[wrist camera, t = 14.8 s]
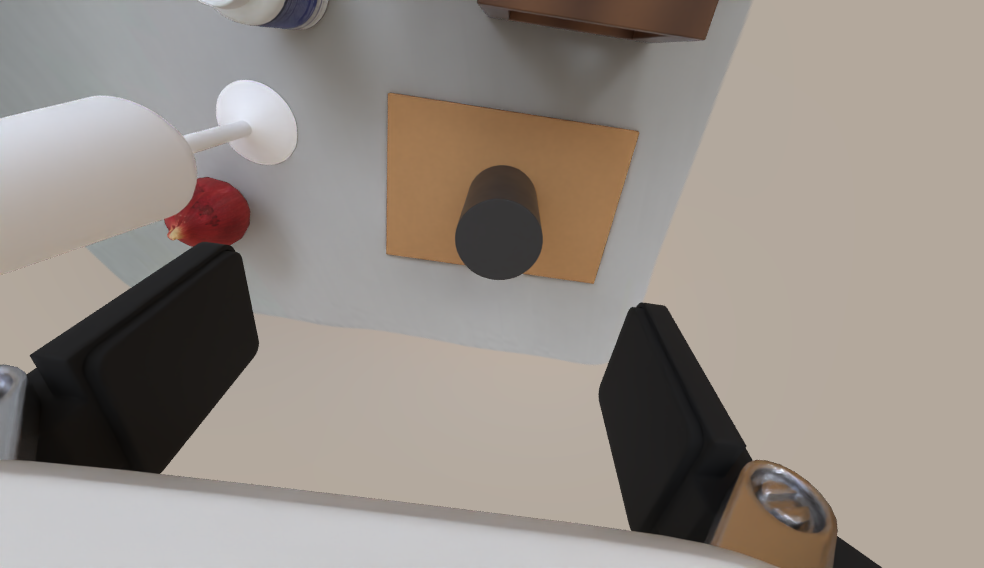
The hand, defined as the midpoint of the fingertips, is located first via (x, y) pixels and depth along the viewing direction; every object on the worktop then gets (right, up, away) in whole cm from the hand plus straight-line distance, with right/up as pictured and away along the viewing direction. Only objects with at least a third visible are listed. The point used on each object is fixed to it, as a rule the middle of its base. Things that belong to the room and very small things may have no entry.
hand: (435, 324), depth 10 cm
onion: (-22, +9, +28) cm, 36 cm away
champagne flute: (-18, +14, +24) cm, 33 cm away
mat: (+2, +9, +26) cm, 28 cm away
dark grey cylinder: (+2, +8, +26) cm, 27 cm away
